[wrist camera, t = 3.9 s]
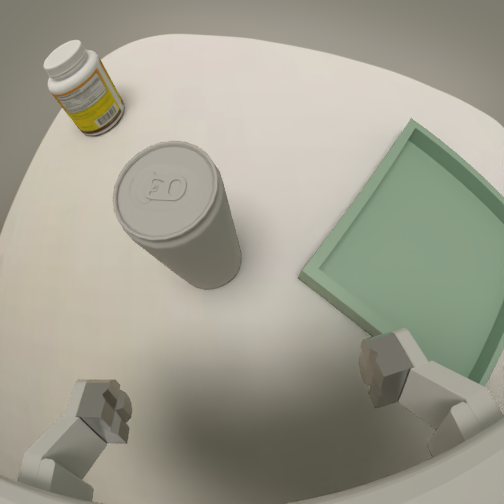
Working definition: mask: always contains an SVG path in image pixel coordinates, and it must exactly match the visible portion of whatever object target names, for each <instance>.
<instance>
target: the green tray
mask: <svg viewBox="0 0 504 504" xmlns="http://www.w3.org/2000/svg"><path fill="white" fill-rule="evenodd" d="M298 279H300V280H301V281H302V282H304V283H305V284H306V285H308V286H309V287H310V288H311V289H313V290H314V291H315V292H317V293H318V294H319V295H320V296H322V297H323V298H324V299H326V300H327V301H328V302H329V303H331V304H332V305H333V306H335V307H336V308H337V309H338V310H340V311H341V312H342V313H344V314H345V315H346V316H347V317H349V318H350V319H351V320H352V321H354V322H355V323H356V324H358V325H359V326H360V327H361V328H363V329H364V330H365V331H367V332H368V333H369V334H370V335H372V336H373V337H374V336H378V335H381V334H384V333H387V332H392V331H395V330H398V329H402V328H406V329H408V331H409V332H410V334H411V335H412V337H413V338H414V340H415V341H416V343H417V344H418V346H419V348H420V349H421V351H422V352H423V354H424V355H425V357H426V359H427V360H428V362H430V361H434V362H436V363H438V364H440V365H442V366H444V367H446V368H448V369H450V370H452V371H454V372H456V373H458V374H460V375H462V376H464V377H466V378H468V379H470V380H472V381H474V382H476V383H478V384H480V385H482V386H484V387H485V385H486V383H487V381H488V379H489V377H490V375H491V373H492V371H493V369H494V367H495V365H496V363H497V361H498V359H499V357H500V355H501V352H502V350H503V348H504V197H503V196H502V195H501V194H500V193H499V192H498V191H497V190H496V189H495V188H494V187H493V186H492V185H491V184H490V183H489V182H488V181H487V180H486V179H485V178H484V177H483V176H481V175H480V174H479V173H478V172H477V171H476V170H475V169H474V168H473V167H472V166H471V165H469V164H468V163H467V162H466V161H465V160H464V159H463V158H461V157H460V156H459V155H458V154H457V153H456V152H454V151H453V150H452V149H451V148H450V147H448V146H447V145H446V144H445V143H443V142H442V141H441V140H440V139H438V138H437V137H436V136H435V135H433V134H432V133H431V132H429V131H428V130H427V129H425V128H424V127H423V126H421V125H420V124H419V123H417V122H416V121H414V120H413V119H412V118H411V119H410V121H409V122H408V124H407V125H406V127H405V128H404V130H403V131H402V133H401V134H400V136H399V137H398V139H397V140H396V142H395V143H394V145H393V146H392V148H391V149H390V151H389V152H388V154H387V155H386V157H385V158H384V159H383V161H382V162H381V164H380V165H379V167H378V168H377V170H376V171H375V172H374V174H373V175H372V177H371V178H370V180H369V181H368V182H367V184H366V185H365V187H364V188H363V189H362V191H361V192H360V194H359V195H358V196H357V198H356V199H355V201H354V202H353V203H352V205H351V206H350V207H349V209H348V210H347V212H346V213H345V214H344V216H343V217H342V218H341V220H340V221H339V222H338V224H337V225H336V226H335V228H334V229H333V230H332V232H331V233H330V234H329V236H328V237H327V238H326V240H325V241H324V242H323V244H322V245H321V246H320V248H319V249H318V250H317V252H316V253H315V254H314V256H313V257H312V258H311V260H310V261H309V262H308V263H307V265H306V266H305V267H304V269H303V270H302V271H301V273H300V275H299V277H298Z"/></svg>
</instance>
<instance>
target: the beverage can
mask: <svg viewBox="0 0 504 504" xmlns="http://www.w3.org/2000/svg"><path fill="white" fill-rule="evenodd" d="M113 206H114V212H115V214H116V216H117V219H118V221H119V222H120V224H121V225H122V227H123V230H124V231H125V232H126V233H127V234H128V235H129V236H130V237H131V239H132V240H133V241H135V242H136V243H137V244H138V245H140V246H141V247H142V248H143V249H145V250H146V251H147V252H149V253H150V254H151V255H152V256H154V257H155V258H156V259H158V260H159V261H160V262H162V263H163V264H164V265H165V266H167V267H168V268H169V269H171V270H172V271H173V272H175V273H176V274H177V275H179V276H180V277H181V278H183V279H184V280H185V281H187V282H188V283H189V284H191V285H193V286H195V287H197V288H201V289H214V288H217V287H220V286H222V285H224V284H226V283H228V282H229V281H230V280H231V279H232V278H233V277H234V276H235V275H236V273H237V272H238V270H239V268H240V264H241V250H240V246H239V242H238V238H237V234H236V231H235V227H234V223H233V219H232V215H231V211H230V207H229V204H228V200H227V196H226V192H225V188H224V184H223V181H222V178H221V174H220V171H219V170H218V168H217V167H216V166H215V164H214V163H213V161H212V160H211V158H210V157H209V156H208V154H207V153H206V152H204V151H203V150H202V149H200V148H199V147H198V146H195V145H192V144H190V143H187V142H180V141H168V142H161V143H158V144H155V145H152V146H150V147H148V148H146V149H144V150H143V151H141V152H139V153H138V154H136V155H135V156H134V157H133V158H132V159H131V160H130V161H129V162H128V163H127V164H126V165H125V167H124V168H123V170H122V171H121V173H120V174H119V176H118V179H117V181H116V184H115V187H114V193H113Z"/></svg>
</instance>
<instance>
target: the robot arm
mask: <svg viewBox="0 0 504 504" xmlns="http://www.w3.org/2000/svg"><path fill="white" fill-rule="evenodd" d="M361 349H362V351H363V353H362V355H361V356H360V359H359V367H360V373H361V376H362V379H363V381H364V383H366V384H367V385H369V386H370V388H369V395H370V398H371V400H372V403H373V405H374V407H375V408H378V407H381V406H385V405H388V404H391V403H394V402H397V401H398V403H400V404H401V405H402V406H404V407H405V408H407V409H408V410H409V411H411V412H412V413H413V414H415V415H416V416H418V417H419V418H420V419H422V420H423V421H424V422H426V423H427V424H429V425H430V426H431V427H433V428H434V429H436V432H435V433H434V434H433V436H432V437H431V438H430V440H429V442H428V444H427V446H428V448H429V450H430V453H431V455H432V458H431V459H429V460H426V461H424V462H422V463H420V464H417V465H415V466H413V467H410V468H408V469H405V470H403V471H400V472H398V473H395V474H393V475H390V476H387V477H385V478H382V479H379V480H376V481H373V482H370V483H367V484H364V485H361V486H357V487H354V488H351V489H347V490H344V491H340V492H336V493H332V494H328V495H324V496H320V497H315V498H311V499H306V500H301V501H296V502H290V503H284V504H504V416H503V414H502V412H501V410H500V409H499V407H498V405H497V404H496V402H495V401H494V399H493V397H492V396H491V394H490V392H489V391H488V389H487V388H486V387H484V386H482V385H480V384H478V383H476V382H474V381H472V380H470V379H468V378H466V377H464V376H462V375H460V374H458V373H456V372H454V371H452V370H450V369H448V368H446V367H444V366H442V365H440V364H438V363H436V362H434V361H430V362H428V360H427V359H426V357H425V355H424V354H423V352H422V351H421V349H420V348H419V346H418V344H417V343H416V341H415V340H414V338H413V337H412V335H411V334H410V332H409V331H408V329H406V328H402V329H398V330H395V331H392V332H387V333H384V334H381V335H378V336H374V337H371V338H367V339H364V340H363V341H362V344H361ZM131 415H132V405H131V401H130V398H129V396H128V395H127V394H126V393H125V392H123V391H121V390H120V384H119V383H118V382H117V381H116V380H77V381H76V382H75V384H74V387H73V390H72V393H71V396H70V399H69V403H68V406H67V409H66V412H65V415H64V416H61V417H60V418H59V419H58V420H57V421H56V422H55V423H54V424H53V425H52V426H51V427H50V428H49V429H48V430H47V431H46V432H45V433H44V434H43V435H42V436H41V437H40V438H39V439H38V440H37V441H36V442H35V443H34V444H33V445H32V446H31V447H30V448H29V449H28V450H27V451H26V452H25V454H24V458H23V462H22V465H21V469H20V473H19V477H18V481H15V480H13V479H10V478H7V477H5V476H2V475H0V504H103V503H97V502H92V499H93V490H94V489H93V487H92V486H91V485H89V484H88V483H86V482H85V481H83V480H82V479H83V478H84V476H85V475H86V474H87V472H88V471H89V469H90V468H91V467H92V465H93V464H94V462H95V461H96V459H97V458H98V457H99V455H100V454H101V452H102V451H103V450H104V448H105V447H106V445H107V443H117V444H127V441H128V434H129V426H128V425H127V422H128V420H129V419H130V418H131Z"/></svg>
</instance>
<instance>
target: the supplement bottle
mask: <svg viewBox="0 0 504 504" xmlns="http://www.w3.org/2000/svg"><path fill="white" fill-rule="evenodd" d="M44 69H45V70H46V72H47V74H48V76H50V77H49V79H48V89H49V90H50V92H51V93H52V95H53V96H54V97H55V99H56V100H57V101H58V103H59V104H60V105H61V107H62V108H63V109H64V110H65V112H66V113H67V114H68V115H69V117H70V118H71V119H72V120H73V122H74V123H75V124H76V125H77V127H78V128H79V129H80V130H81V131H82V132H83V133H84V134H86V135H98V134H101V133H104V132H106V131H107V130H109V129H110V128H112V127H113V126H114V125H115V124H116V123H117V122H118V120H119V119H120V117H121V115H122V113H123V109H124V104H123V101H122V99H121V97H120V95H119V93H118V92H117V90H116V88H115V86H114V84H113V82H112V81H111V79H110V77H109V75H108V73H107V71H106V69H105V68H104V66H103V64H102V62H101V60H100V58H99V56H98V55H97V53H95V52H94V51H91V50H85V48H84V47H83V45H82V43H81V42H80V41H79V40H72V41H69V42H67V43H65V44H63V45H61V46H60V47H58V48H57V49H55V50H54V51H53V52H52V53H51V54H50V55H49V56H48V57H47V59H46V60H45V62H44Z"/></svg>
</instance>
